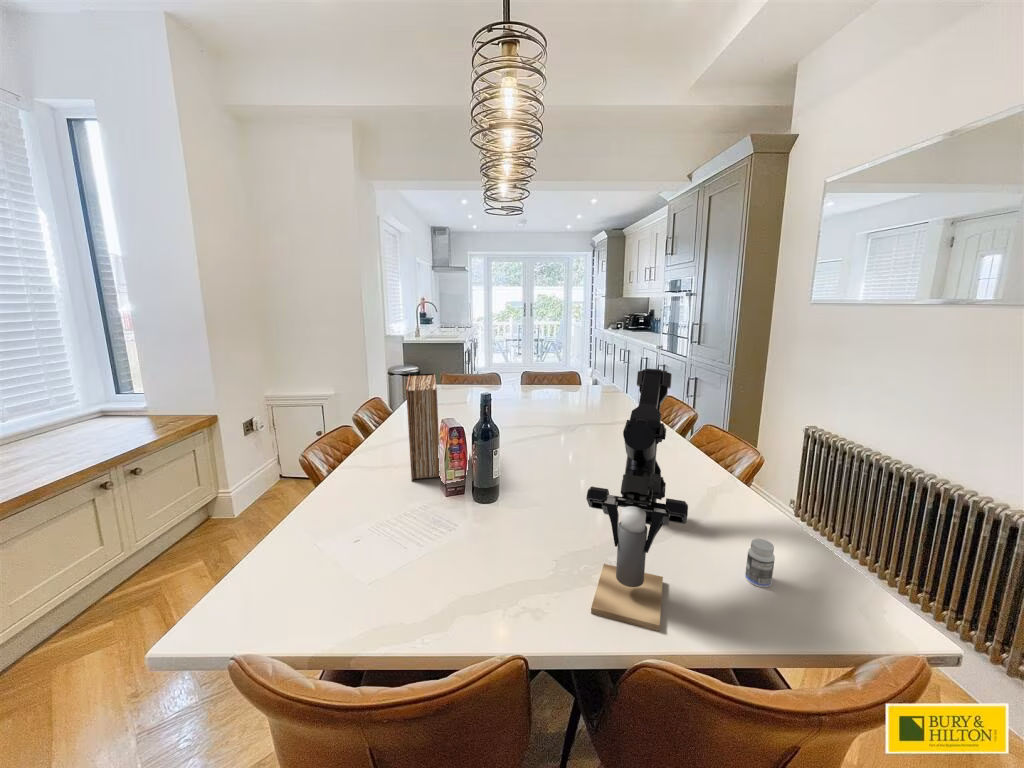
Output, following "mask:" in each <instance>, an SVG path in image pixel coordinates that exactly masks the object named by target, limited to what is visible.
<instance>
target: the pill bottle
mask: <svg viewBox="0 0 1024 768" xmlns="http://www.w3.org/2000/svg"><path fill="white" fill-rule="evenodd" d="M774 552H775V545H774V544H773V543H771V541H768V540H766V539H763V538H753V539H752V540H751V542H750V547H749V548H748V551H747V558H746V566H745V573H744V574H745V575H744V576H745V580H746V581H748V582H749V583H750V584H751V585H753V586H756V587H759V588H768V587H770V586H771V585H772V580H773V574H774V568H775V561H776V559H775V555H774Z"/></svg>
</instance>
